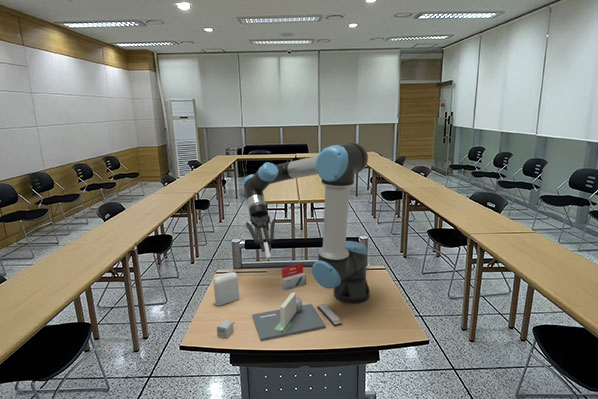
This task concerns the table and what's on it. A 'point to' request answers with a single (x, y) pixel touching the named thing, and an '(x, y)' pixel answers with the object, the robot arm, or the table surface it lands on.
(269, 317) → the gray rectangular board
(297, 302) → the cream slab with knob
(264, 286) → the table surface
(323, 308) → the harmonica
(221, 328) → the usb wall charger
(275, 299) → the table surface
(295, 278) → the ink cartridge box
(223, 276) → the photo printer
